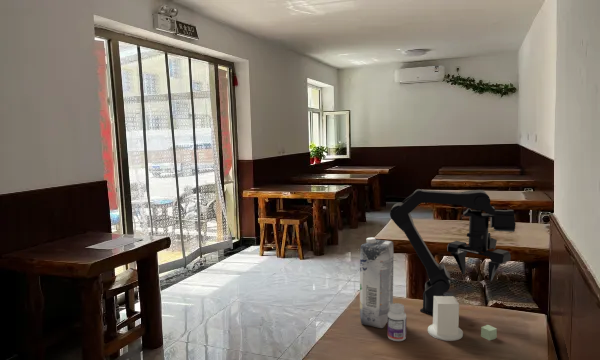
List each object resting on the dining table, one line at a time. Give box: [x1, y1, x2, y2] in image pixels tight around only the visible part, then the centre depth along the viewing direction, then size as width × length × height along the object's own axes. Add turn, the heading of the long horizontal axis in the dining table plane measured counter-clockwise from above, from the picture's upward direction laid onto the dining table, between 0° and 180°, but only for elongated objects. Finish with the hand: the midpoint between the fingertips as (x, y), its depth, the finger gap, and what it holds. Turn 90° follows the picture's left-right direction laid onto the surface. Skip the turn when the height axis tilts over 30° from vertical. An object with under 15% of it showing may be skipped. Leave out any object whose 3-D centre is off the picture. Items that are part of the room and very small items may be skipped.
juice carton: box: [359, 236, 395, 329], centre depth 143 cm, size 9×10×27 cm
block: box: [480, 324, 498, 341], centre depth 133 cm, size 3×3×3 cm
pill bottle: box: [387, 302, 407, 342], centre depth 133 cm, size 5×5×10 cm
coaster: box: [427, 323, 464, 342], centre depth 136 cm, size 10×10×1 cm
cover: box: [432, 295, 460, 335], centre depth 135 cm, size 6×6×10 cm
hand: (476, 277), depth 146 cm, fingers open, 9 cm apart
